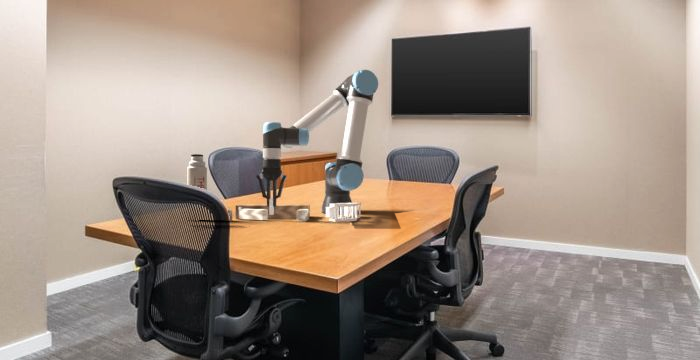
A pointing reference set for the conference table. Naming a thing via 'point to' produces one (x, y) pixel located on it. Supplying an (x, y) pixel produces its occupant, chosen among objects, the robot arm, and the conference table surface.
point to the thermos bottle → (197, 172)
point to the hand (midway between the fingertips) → (271, 214)
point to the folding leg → (253, 214)
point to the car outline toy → (348, 211)
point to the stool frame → (280, 211)
